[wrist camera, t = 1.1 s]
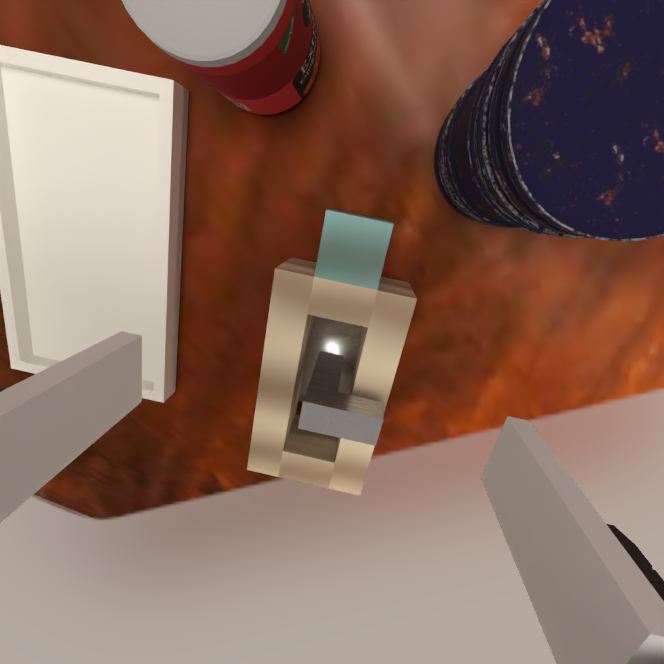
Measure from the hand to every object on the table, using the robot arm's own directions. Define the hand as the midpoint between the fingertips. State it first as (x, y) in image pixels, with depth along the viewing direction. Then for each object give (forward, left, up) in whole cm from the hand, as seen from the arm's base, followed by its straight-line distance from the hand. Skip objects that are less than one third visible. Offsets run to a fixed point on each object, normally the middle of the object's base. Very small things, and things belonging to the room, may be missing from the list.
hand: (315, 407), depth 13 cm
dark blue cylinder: (+9, +12, -19) cm, 24 cm away
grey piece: (0, -6, -19) cm, 20 cm away
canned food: (-9, +15, -19) cm, 26 cm away
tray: (-22, -1, -19) cm, 29 cm away
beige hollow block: (0, -4, -16) cm, 16 cm away
